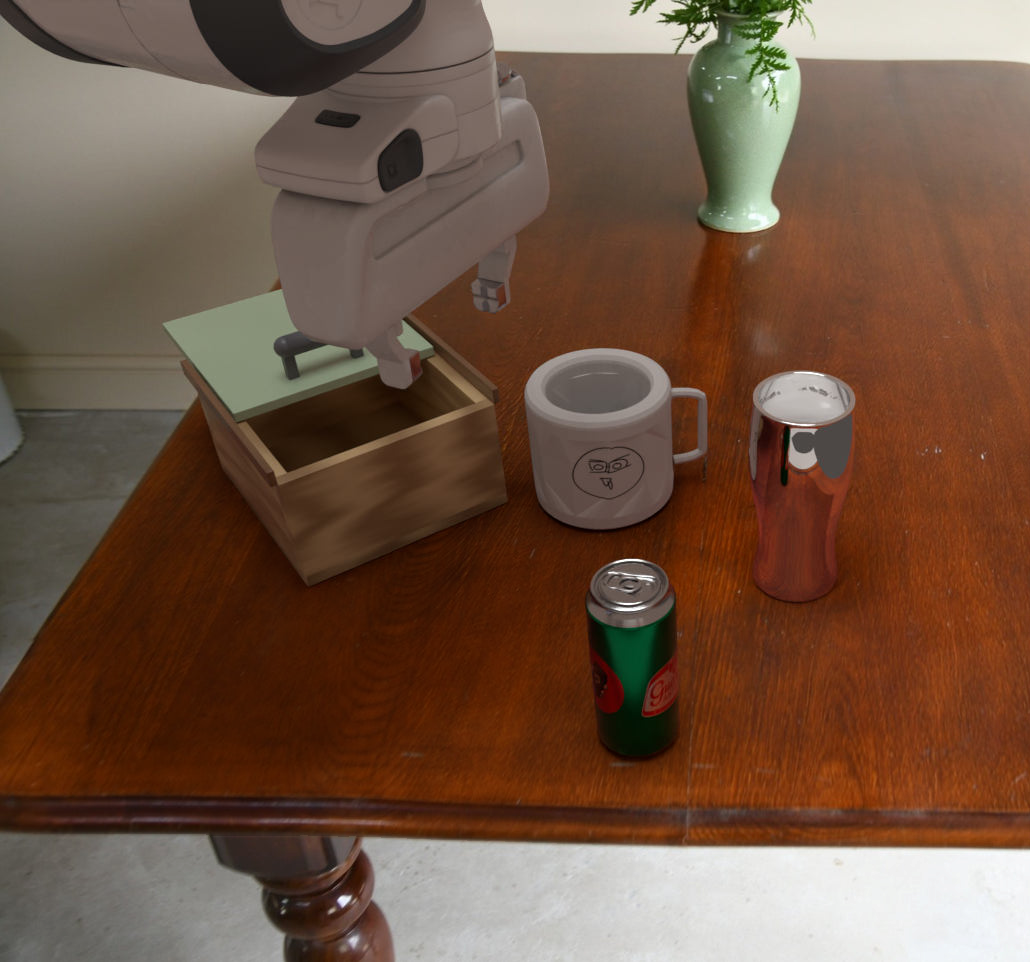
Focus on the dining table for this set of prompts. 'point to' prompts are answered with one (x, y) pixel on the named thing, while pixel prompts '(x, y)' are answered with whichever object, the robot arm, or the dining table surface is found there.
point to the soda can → (633, 656)
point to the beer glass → (799, 479)
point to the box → (365, 461)
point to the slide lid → (269, 355)
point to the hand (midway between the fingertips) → (450, 342)
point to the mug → (605, 436)
